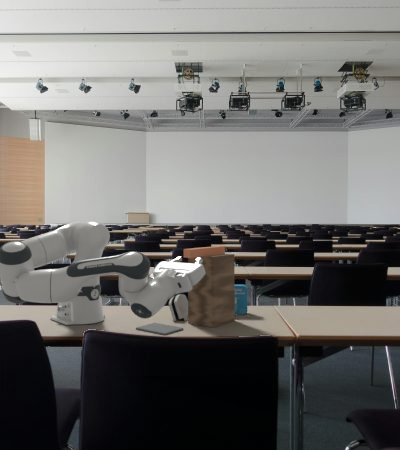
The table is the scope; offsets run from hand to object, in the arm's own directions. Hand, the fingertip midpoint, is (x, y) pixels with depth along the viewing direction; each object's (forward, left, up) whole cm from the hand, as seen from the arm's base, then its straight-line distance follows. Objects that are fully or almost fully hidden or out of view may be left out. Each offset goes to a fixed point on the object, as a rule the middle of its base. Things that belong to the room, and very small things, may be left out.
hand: (190, 258), depth 168 cm
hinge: (-17, +15, -26) cm, 34 cm away
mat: (-9, -7, -26) cm, 28 cm away
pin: (-1, +10, 0) cm, 10 cm away
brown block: (-1, +14, -26) cm, 29 cm away
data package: (-3, +32, -26) cm, 41 cm away
